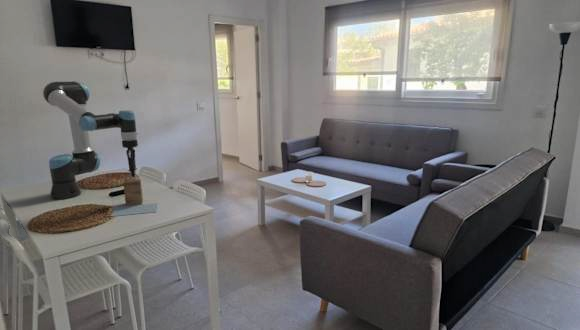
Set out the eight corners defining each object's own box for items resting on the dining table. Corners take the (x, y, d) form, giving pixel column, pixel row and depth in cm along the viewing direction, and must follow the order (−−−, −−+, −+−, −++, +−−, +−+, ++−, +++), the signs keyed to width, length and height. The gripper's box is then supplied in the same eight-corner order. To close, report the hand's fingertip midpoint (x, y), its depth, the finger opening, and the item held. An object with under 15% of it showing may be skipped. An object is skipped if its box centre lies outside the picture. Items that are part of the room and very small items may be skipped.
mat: (109, 207, 190) (109, 207, 190) (157, 203, 196) (157, 203, 196) (103, 217, 176) (103, 216, 176) (156, 212, 183) (156, 211, 183)
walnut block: (127, 202, 197) (124, 179, 194) (142, 201, 200) (140, 178, 197) (125, 205, 193) (123, 182, 190) (142, 204, 195) (139, 181, 192)
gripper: (135, 141, 189) (140, 184, 194) (138, 137, 201) (142, 178, 207) (120, 141, 187) (125, 185, 192) (123, 138, 199) (128, 179, 204)
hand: (134, 181), depth 199 cm, fingers closed
